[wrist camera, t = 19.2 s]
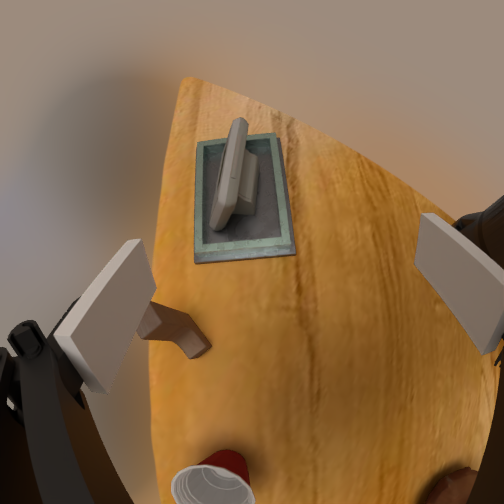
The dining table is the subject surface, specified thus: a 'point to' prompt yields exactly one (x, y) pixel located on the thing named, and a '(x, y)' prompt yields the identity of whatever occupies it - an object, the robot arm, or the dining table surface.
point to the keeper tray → (239, 225)
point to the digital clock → (235, 178)
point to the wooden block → (173, 329)
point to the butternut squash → (453, 488)
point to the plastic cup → (214, 481)
